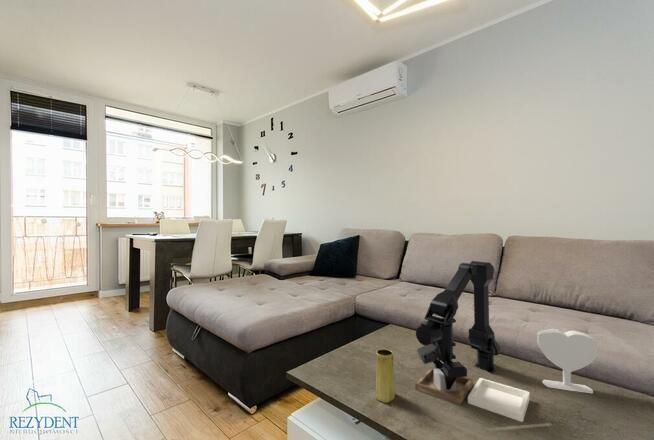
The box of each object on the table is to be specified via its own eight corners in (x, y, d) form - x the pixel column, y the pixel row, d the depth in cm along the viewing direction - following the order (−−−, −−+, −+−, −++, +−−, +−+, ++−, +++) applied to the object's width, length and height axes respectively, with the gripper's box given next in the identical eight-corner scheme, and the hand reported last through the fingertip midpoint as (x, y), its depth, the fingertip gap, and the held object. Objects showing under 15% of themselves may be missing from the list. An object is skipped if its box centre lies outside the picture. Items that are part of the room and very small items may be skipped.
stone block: (433, 383, 103) (433, 368, 103) (448, 382, 104) (447, 367, 104) (440, 391, 98) (440, 376, 98) (455, 390, 99) (455, 375, 99)
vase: (395, 403, 93) (394, 357, 93) (375, 401, 94) (374, 355, 94) (395, 392, 99) (394, 348, 99) (376, 391, 100) (375, 347, 100)
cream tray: (479, 385, 103) (479, 377, 103) (529, 400, 94) (529, 392, 94) (468, 405, 92) (467, 396, 92) (522, 424, 83) (522, 415, 83)
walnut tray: (431, 373, 111) (431, 366, 111) (473, 386, 102) (472, 379, 102) (415, 391, 100) (415, 383, 100) (460, 407, 91) (460, 398, 91)
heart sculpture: (592, 386, 101) (591, 331, 101) (600, 394, 96) (599, 337, 96) (537, 378, 106) (536, 326, 106) (541, 386, 101) (540, 331, 101)
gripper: (409, 328, 109) (410, 372, 109) (432, 351, 91) (433, 403, 91) (439, 327, 110) (440, 370, 110) (468, 348, 92) (469, 400, 92)
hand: (444, 384), depth 101 cm, fingers closed on stone block, 5 cm apart
